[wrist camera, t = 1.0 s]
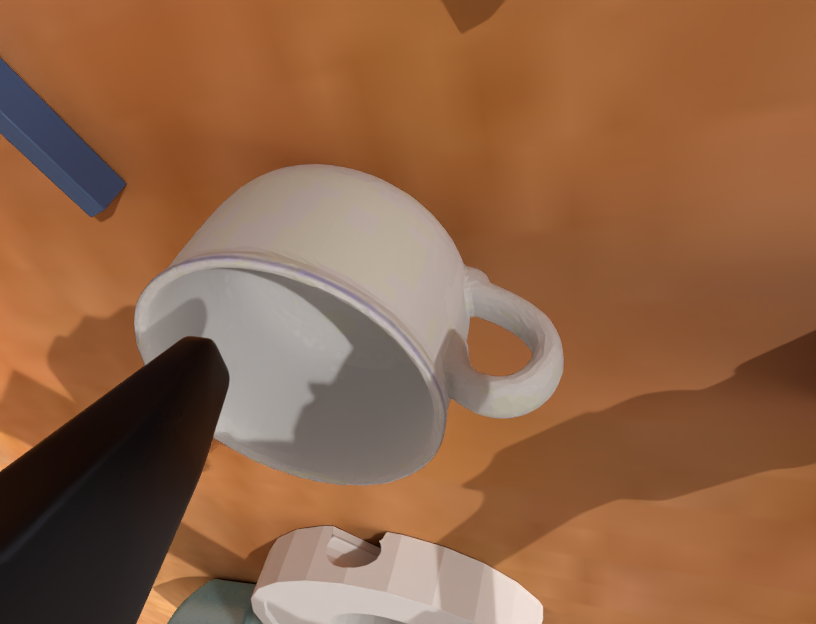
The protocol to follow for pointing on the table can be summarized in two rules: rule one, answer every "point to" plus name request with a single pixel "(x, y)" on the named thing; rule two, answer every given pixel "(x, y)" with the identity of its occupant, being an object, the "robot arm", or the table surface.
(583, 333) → the table surface
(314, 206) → the teacup
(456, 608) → the ashtray
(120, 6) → the table surface
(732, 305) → the table surface
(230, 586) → the flower pot
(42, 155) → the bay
